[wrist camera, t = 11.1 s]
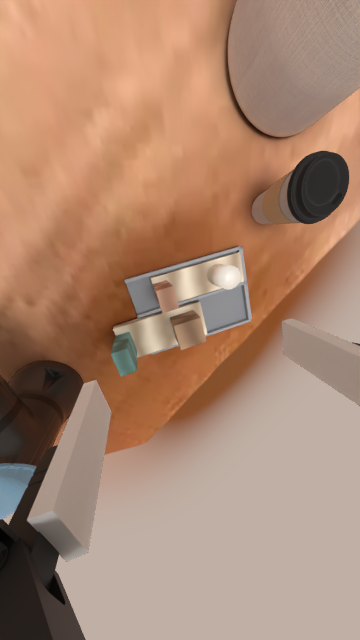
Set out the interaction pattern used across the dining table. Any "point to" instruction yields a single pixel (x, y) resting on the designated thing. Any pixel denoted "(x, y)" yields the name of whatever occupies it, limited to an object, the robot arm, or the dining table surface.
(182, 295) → the strip
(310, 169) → the coffee cup
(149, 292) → the lane board
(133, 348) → the strip
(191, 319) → the walnut cube
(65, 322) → the dining table surface
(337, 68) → the planter
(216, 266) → the stoneware cylinder
